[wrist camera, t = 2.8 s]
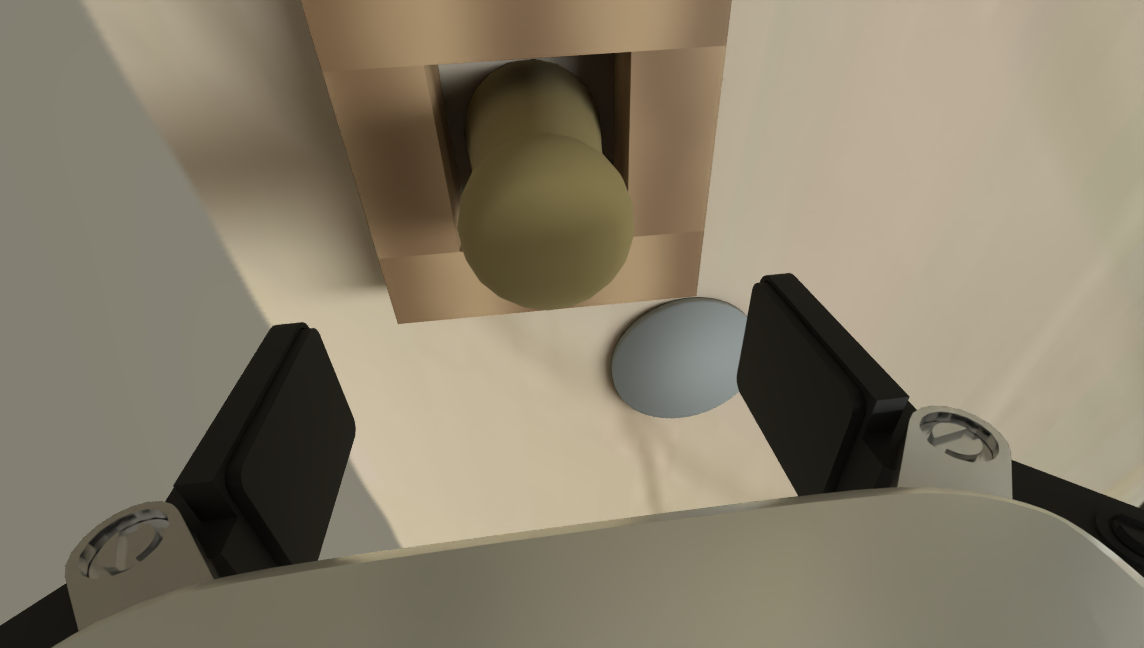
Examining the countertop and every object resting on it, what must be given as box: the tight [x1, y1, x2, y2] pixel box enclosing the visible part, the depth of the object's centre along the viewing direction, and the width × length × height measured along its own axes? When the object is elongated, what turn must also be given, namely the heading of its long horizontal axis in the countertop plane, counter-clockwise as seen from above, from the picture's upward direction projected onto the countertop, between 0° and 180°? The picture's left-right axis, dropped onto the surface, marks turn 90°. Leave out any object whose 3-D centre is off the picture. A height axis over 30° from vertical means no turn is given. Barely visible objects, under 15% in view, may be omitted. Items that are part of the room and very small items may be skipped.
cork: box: [457, 59, 634, 310], centre depth 18 cm, size 6×6×11 cm
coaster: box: [611, 297, 747, 418], centre depth 31 cm, size 9×9×1 cm
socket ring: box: [301, 0, 732, 324], centre depth 21 cm, size 14×14×4 cm
